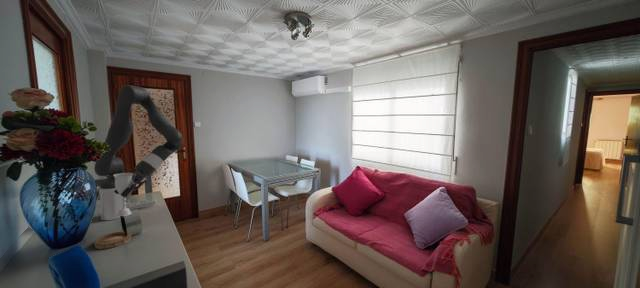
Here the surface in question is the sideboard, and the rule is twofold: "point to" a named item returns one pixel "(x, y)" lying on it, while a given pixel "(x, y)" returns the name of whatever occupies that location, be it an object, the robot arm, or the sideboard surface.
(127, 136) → the robot arm
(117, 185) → the chalice
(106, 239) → the tan segmented-rim dish
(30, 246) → the sideboard surface
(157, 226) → the sideboard surface
